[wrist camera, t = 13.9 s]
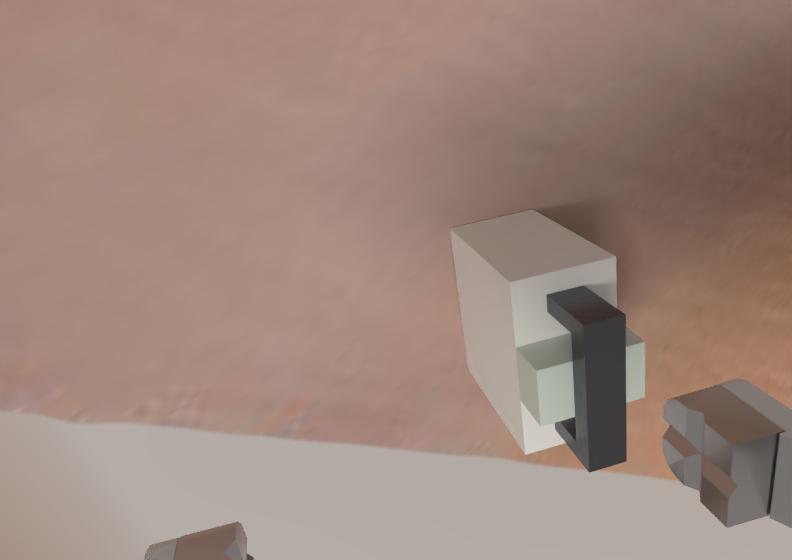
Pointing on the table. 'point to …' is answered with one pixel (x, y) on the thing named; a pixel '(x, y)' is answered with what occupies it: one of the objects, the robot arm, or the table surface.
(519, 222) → the stand
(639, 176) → the table surface
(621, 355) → the frame
